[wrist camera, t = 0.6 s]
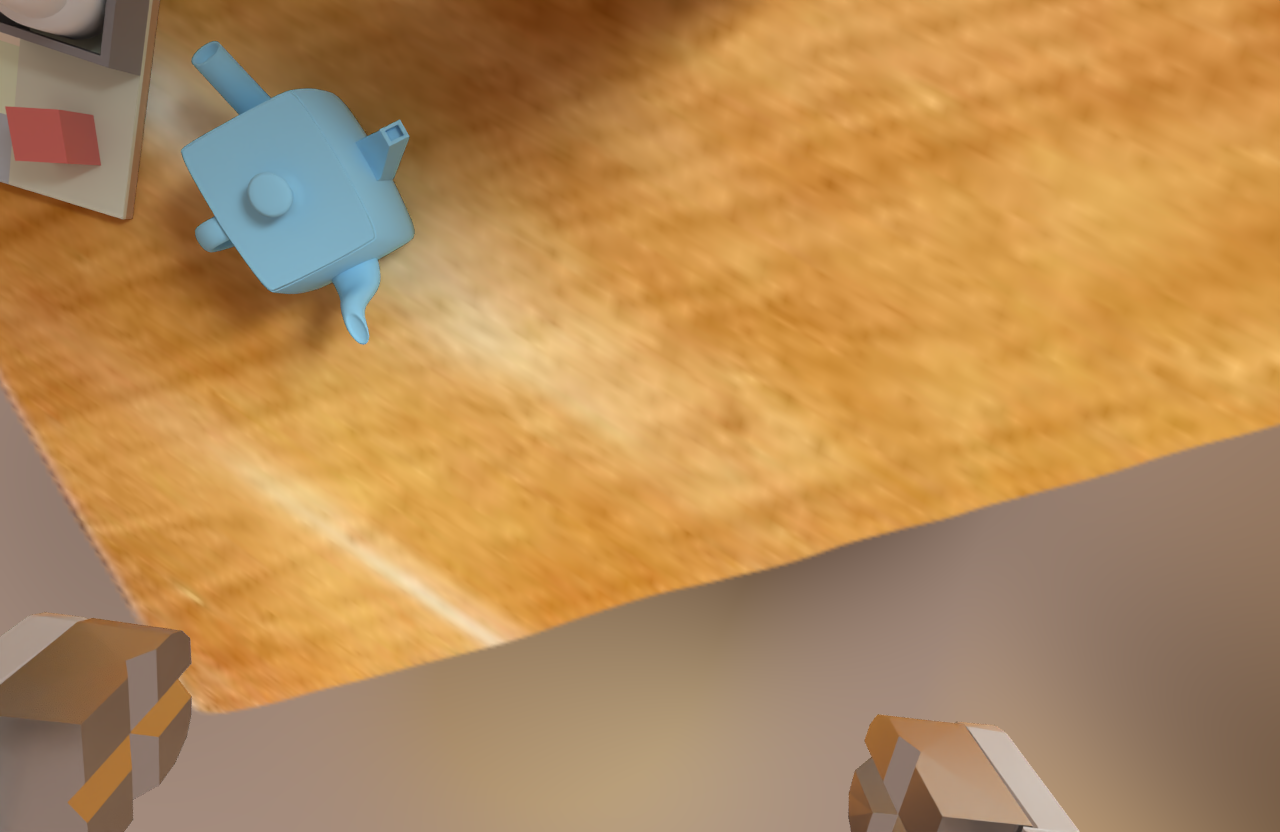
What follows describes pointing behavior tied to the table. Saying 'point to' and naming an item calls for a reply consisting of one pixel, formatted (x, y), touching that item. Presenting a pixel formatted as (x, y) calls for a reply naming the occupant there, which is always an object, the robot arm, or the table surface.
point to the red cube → (53, 136)
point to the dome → (58, 16)
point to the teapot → (299, 188)
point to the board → (83, 102)
